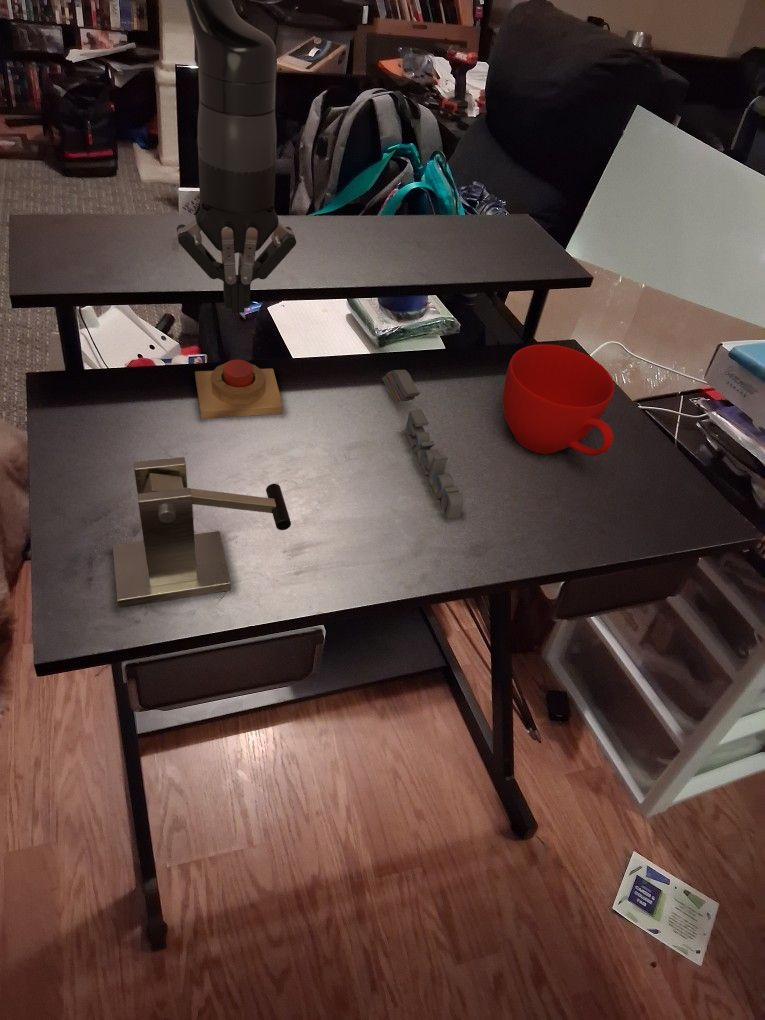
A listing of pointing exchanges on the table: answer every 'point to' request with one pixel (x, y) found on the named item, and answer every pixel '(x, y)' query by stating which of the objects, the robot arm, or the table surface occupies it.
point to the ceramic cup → (556, 399)
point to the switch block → (237, 394)
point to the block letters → (425, 444)
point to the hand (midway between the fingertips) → (237, 309)
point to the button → (238, 373)
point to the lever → (228, 498)
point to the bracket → (168, 545)
